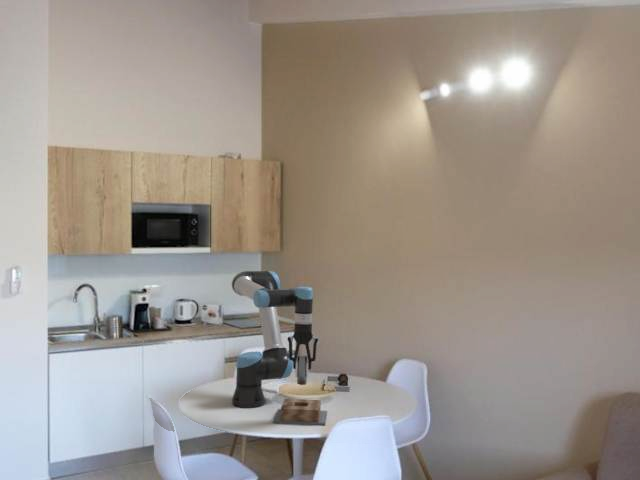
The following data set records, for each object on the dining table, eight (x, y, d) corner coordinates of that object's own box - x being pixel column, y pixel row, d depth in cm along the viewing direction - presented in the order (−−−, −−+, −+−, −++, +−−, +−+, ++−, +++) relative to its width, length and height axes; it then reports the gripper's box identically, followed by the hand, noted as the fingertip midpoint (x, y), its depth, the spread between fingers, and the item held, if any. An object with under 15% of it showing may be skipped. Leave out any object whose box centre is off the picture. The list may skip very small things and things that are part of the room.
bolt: (342, 393, 343) (341, 385, 358) (351, 388, 343) (349, 380, 358) (336, 383, 343) (336, 375, 358) (345, 379, 342) (344, 371, 357)
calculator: (255, 390, 339) (255, 386, 339) (278, 382, 356) (279, 379, 356) (277, 394, 332) (277, 390, 332) (299, 386, 349) (299, 382, 349)
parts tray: (323, 390, 340) (323, 385, 340) (325, 380, 362) (325, 375, 362) (349, 391, 339) (349, 386, 339) (350, 381, 361) (350, 376, 361)
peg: (296, 384, 290) (297, 356, 290) (297, 382, 294) (298, 355, 294) (306, 385, 290) (306, 357, 289) (306, 382, 294) (307, 355, 293)
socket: (273, 423, 284) (273, 409, 284) (278, 410, 302) (278, 397, 302) (325, 425, 283) (325, 411, 283) (327, 413, 301) (327, 399, 301)
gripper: (282, 323, 288) (281, 377, 289) (322, 324, 287) (321, 379, 288) (284, 320, 295) (283, 373, 296) (323, 322, 294) (322, 375, 295)
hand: (301, 376), depth 292 cm, fingers closed on peg, 4 cm apart
